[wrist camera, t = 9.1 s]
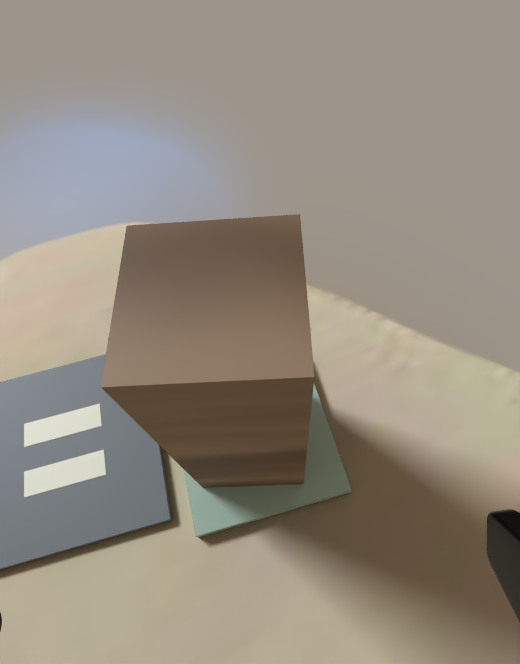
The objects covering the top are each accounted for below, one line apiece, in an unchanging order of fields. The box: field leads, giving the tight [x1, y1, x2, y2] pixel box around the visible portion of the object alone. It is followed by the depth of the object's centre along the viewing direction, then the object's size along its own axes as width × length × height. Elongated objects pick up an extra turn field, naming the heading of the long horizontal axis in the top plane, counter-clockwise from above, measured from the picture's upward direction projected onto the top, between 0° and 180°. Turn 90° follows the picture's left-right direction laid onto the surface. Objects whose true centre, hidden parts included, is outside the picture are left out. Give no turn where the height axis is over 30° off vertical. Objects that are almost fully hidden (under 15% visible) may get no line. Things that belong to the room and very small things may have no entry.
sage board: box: [184, 384, 352, 537], centre depth 21 cm, size 7×7×1 cm
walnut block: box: [101, 215, 314, 488], centre depth 16 cm, size 4×4×12 cm
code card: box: [0, 355, 172, 570], centre depth 22 cm, size 9×9×1 cm
